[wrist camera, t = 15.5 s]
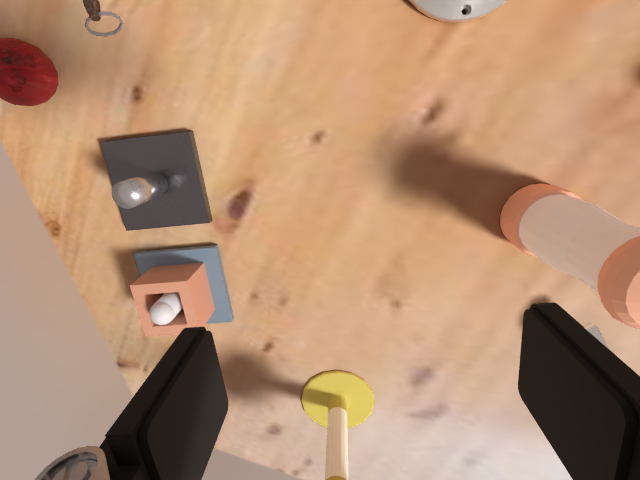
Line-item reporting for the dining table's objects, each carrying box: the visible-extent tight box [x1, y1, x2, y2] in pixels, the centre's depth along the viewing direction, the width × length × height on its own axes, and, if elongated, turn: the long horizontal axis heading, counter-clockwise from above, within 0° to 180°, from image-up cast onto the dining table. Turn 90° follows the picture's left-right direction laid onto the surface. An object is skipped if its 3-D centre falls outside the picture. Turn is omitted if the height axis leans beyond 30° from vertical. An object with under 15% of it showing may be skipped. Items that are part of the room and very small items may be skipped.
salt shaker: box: [500, 183, 640, 329], centre depth 30 cm, size 7×7×19 cm
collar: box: [130, 263, 215, 337], centre depth 41 cm, size 6×6×5 cm
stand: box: [100, 131, 212, 231], centre depth 37 cm, size 10×10×7 cm
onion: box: [0, 38, 58, 106], centre depth 34 cm, size 6×6×8 cm
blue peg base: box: [134, 244, 234, 325], centre depth 41 cm, size 10×10×8 cm
